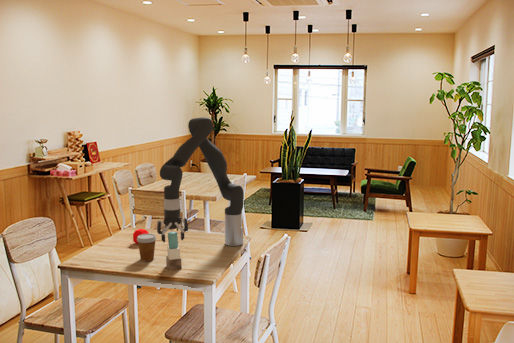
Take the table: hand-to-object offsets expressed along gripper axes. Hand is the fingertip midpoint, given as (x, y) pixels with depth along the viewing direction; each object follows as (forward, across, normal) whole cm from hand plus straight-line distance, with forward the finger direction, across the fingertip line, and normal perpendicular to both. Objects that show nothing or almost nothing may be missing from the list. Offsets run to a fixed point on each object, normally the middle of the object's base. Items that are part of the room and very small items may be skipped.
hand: (173, 240), depth 240 cm
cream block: (+8, 0, 0) cm, 8 cm away
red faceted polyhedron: (+13, +9, -43) cm, 46 cm away
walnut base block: (+13, 0, 0) cm, 13 cm away
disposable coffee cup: (+13, +10, -16) cm, 23 cm away
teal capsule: (+3, 0, 0) cm, 3 cm away
